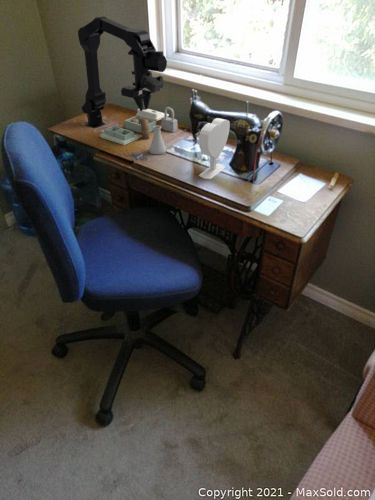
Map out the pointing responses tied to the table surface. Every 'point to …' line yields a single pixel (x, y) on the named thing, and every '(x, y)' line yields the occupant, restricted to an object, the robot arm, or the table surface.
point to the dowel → (144, 129)
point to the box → (138, 124)
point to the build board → (119, 135)
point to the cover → (151, 114)
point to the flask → (157, 142)
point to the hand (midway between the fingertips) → (143, 109)
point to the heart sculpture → (213, 144)
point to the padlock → (169, 121)
